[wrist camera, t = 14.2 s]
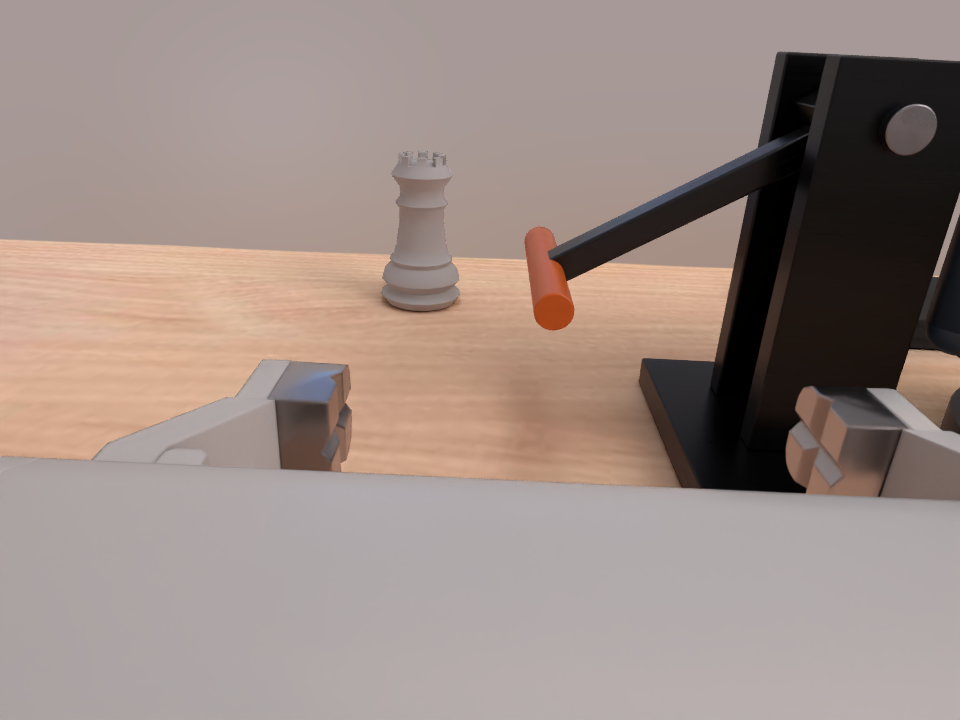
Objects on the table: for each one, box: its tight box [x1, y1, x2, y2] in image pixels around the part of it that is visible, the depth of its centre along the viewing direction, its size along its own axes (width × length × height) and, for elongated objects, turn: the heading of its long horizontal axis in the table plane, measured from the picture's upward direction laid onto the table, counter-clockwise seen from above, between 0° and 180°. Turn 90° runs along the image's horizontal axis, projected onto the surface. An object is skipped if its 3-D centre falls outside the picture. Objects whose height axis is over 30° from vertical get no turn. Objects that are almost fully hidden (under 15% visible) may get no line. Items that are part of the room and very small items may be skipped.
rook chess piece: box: [381, 151, 460, 311], centre depth 39 cm, size 4×4×8 cm
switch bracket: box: [639, 52, 960, 494], centre depth 25 cm, size 9×10×14 cm
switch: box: [525, 90, 819, 330], centre depth 24 cm, size 13×8×2 cm, turn 90°
